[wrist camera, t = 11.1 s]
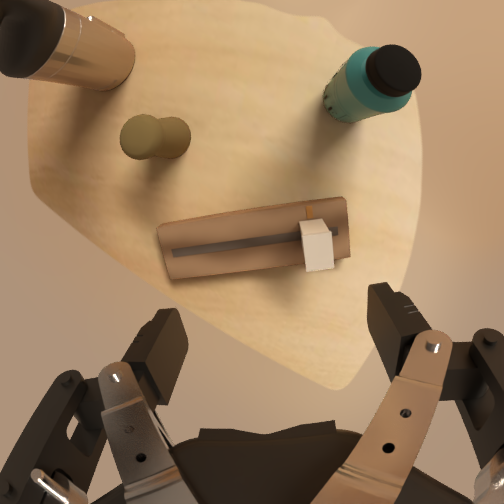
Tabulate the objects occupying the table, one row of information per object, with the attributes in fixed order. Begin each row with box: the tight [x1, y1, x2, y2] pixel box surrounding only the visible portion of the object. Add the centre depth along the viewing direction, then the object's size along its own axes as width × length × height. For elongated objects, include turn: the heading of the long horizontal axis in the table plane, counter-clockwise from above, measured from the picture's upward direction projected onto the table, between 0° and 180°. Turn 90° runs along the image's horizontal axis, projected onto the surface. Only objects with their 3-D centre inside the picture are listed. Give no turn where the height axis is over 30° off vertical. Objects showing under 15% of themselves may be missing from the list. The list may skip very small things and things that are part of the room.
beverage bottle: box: [322, 45, 421, 123], centre depth 24 cm, size 6×7×20 cm
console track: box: [156, 197, 350, 280], centre depth 40 cm, size 8×26×3 cm, turn 100°
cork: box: [120, 114, 191, 160], centre depth 32 cm, size 6×6×11 cm
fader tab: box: [299, 219, 334, 272], centre depth 35 cm, size 4×3×7 cm
